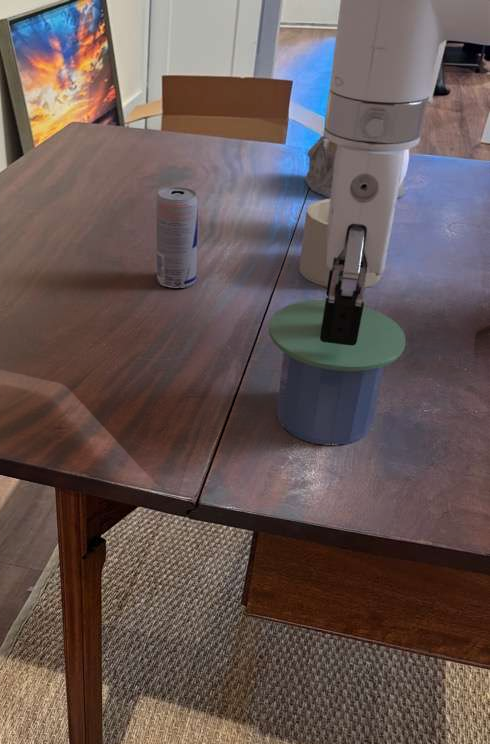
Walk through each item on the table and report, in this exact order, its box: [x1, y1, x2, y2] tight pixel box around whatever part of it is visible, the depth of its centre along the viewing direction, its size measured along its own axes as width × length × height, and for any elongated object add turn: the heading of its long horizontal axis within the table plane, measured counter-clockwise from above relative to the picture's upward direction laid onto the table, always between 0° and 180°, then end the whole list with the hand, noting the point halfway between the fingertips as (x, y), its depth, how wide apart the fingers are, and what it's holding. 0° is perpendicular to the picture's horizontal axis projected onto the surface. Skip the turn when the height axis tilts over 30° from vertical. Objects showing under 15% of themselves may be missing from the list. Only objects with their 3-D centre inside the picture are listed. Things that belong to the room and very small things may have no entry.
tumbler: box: [276, 352, 385, 446], centre depth 70 cm, size 10×10×9 cm
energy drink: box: [155, 186, 199, 288], centre depth 94 cm, size 5×5×12 cm
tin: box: [299, 198, 394, 289], centre depth 99 cm, size 12×12×8 cm
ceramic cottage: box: [304, 135, 405, 199], centre depth 126 cm, size 16×16×15 cm
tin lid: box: [268, 275, 407, 371], centre depth 66 cm, size 13×13×6 cm
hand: (340, 318), depth 66 cm, fingers open, 8 cm apart
